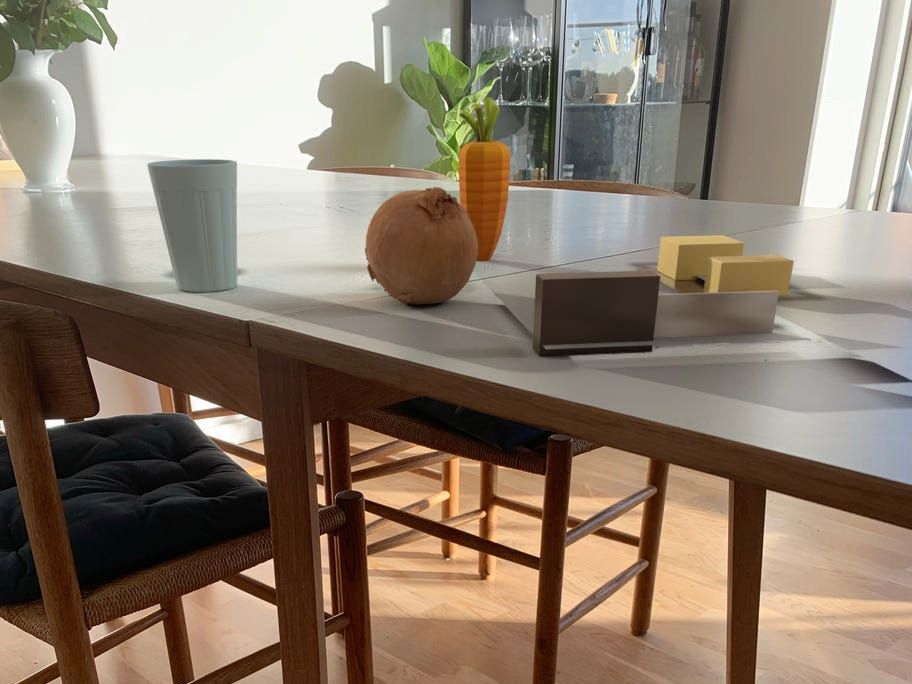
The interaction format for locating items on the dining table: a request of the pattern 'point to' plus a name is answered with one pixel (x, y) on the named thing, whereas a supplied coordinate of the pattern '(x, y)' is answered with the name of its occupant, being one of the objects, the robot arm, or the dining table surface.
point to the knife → (637, 312)
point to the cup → (198, 220)
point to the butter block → (693, 254)
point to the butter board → (679, 283)
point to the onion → (421, 246)
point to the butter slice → (748, 274)
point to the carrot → (484, 179)
